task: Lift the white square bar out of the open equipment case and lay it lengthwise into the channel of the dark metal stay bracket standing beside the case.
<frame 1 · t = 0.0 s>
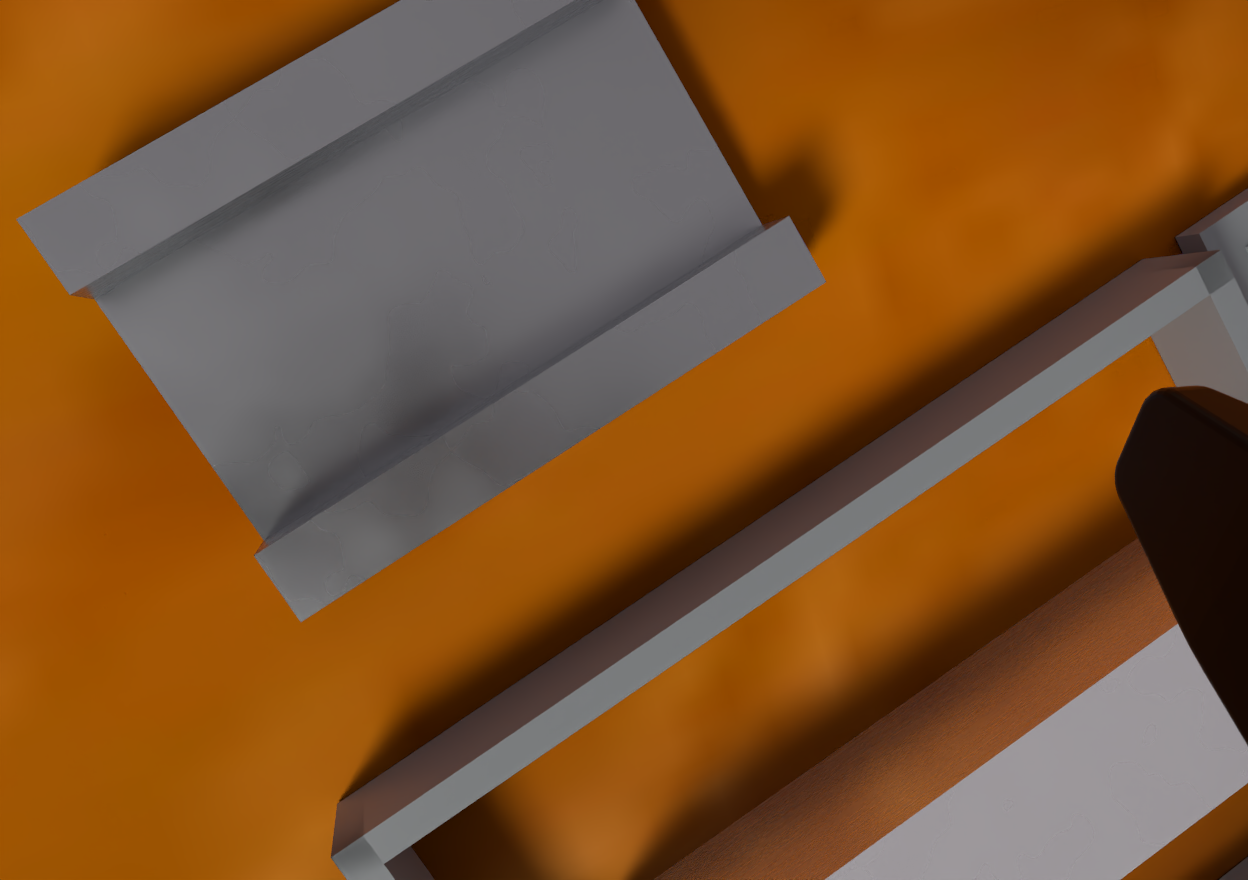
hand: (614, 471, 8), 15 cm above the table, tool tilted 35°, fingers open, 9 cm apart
white square bar: (918, 778, 26), resting in case
stay bracket: (446, 262, 22), on the table
case: (925, 784, 26), on the table
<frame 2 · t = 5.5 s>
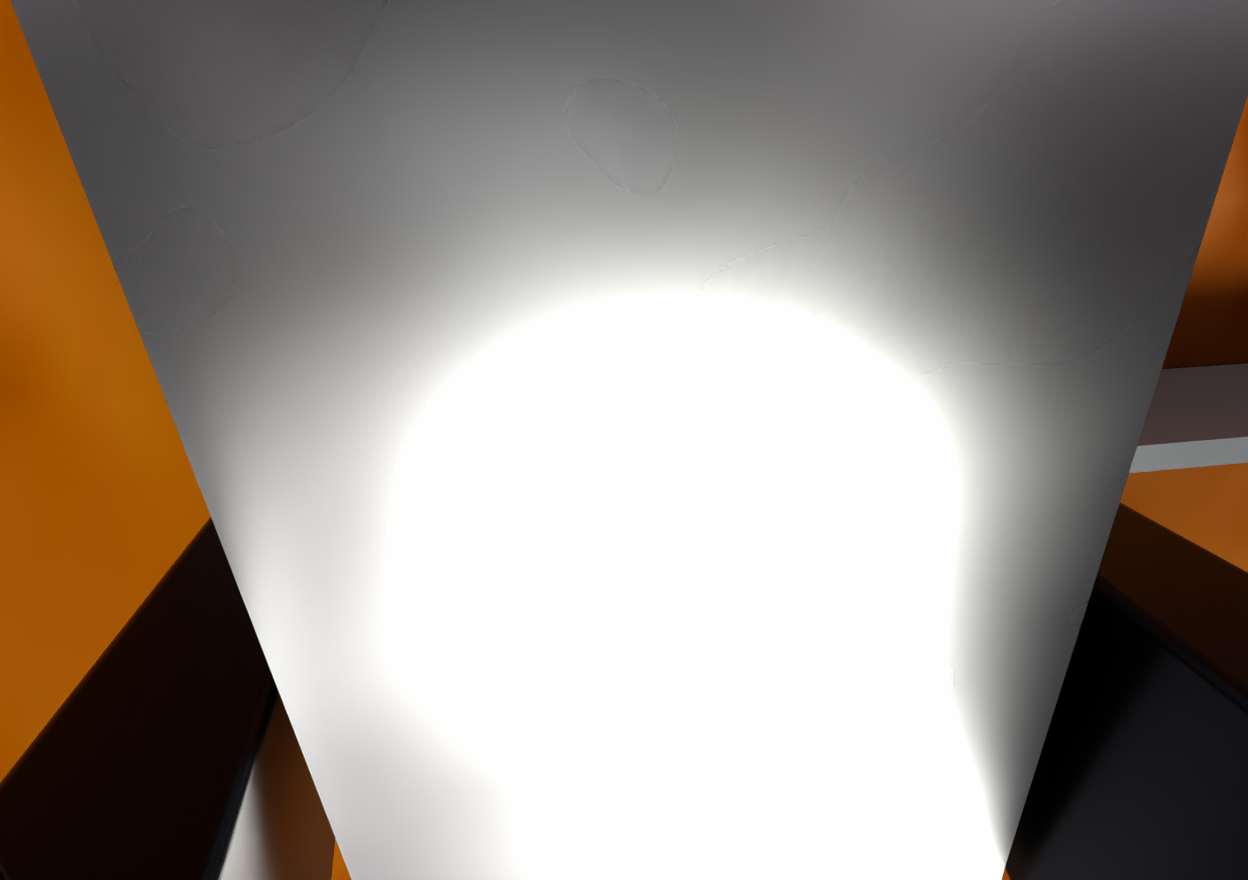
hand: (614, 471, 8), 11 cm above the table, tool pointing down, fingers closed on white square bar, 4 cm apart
white square bar: (586, 382, 9), point 10 cm above the table, touching gripper
when the fingers open (3 cm above the table, at t = 7.5 s): white square bar drops 1 cm, resting on stay bracket.
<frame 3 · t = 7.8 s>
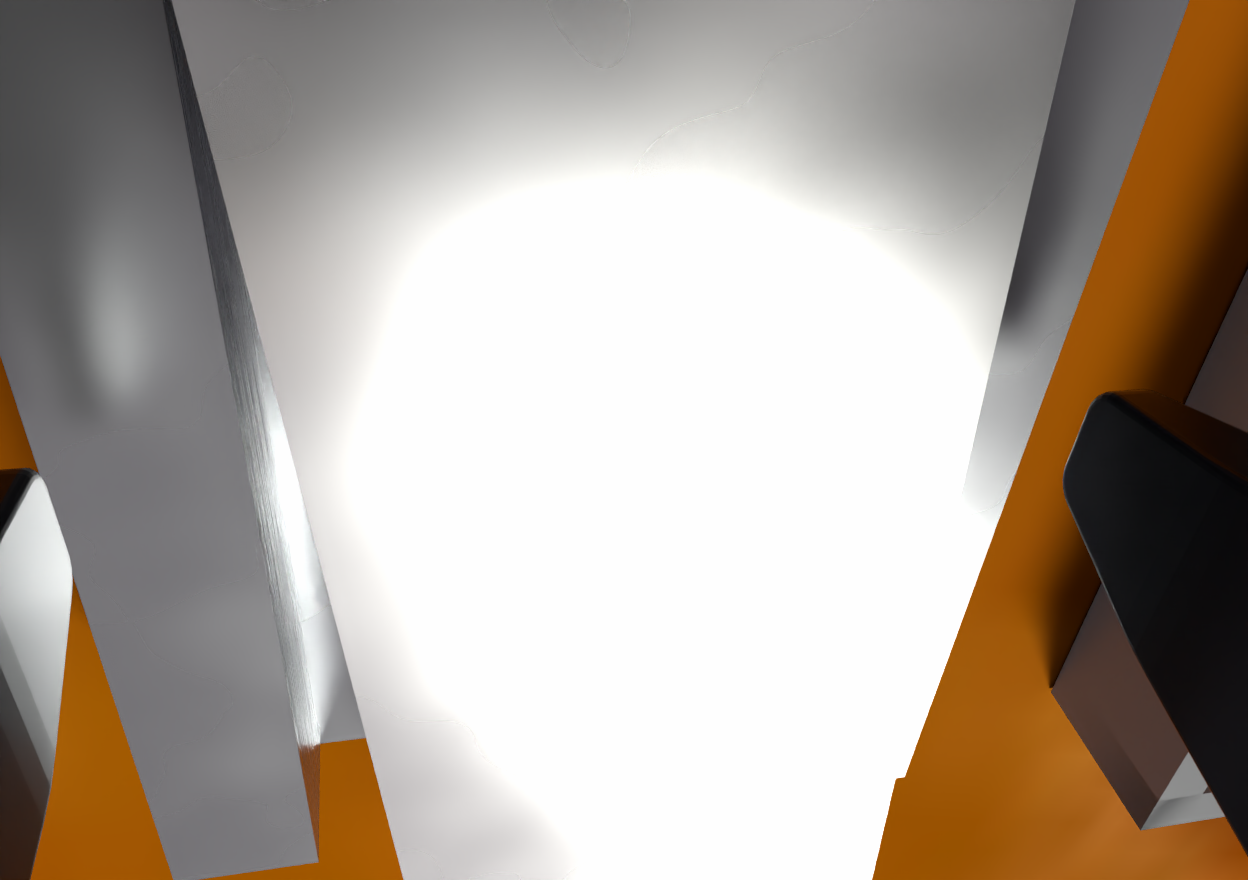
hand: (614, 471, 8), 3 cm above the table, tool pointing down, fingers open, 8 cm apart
white square bar: (560, 303, 10), point 1 cm above the table, touching stay bracket
stay bracket: (546, 263, 11), on the table
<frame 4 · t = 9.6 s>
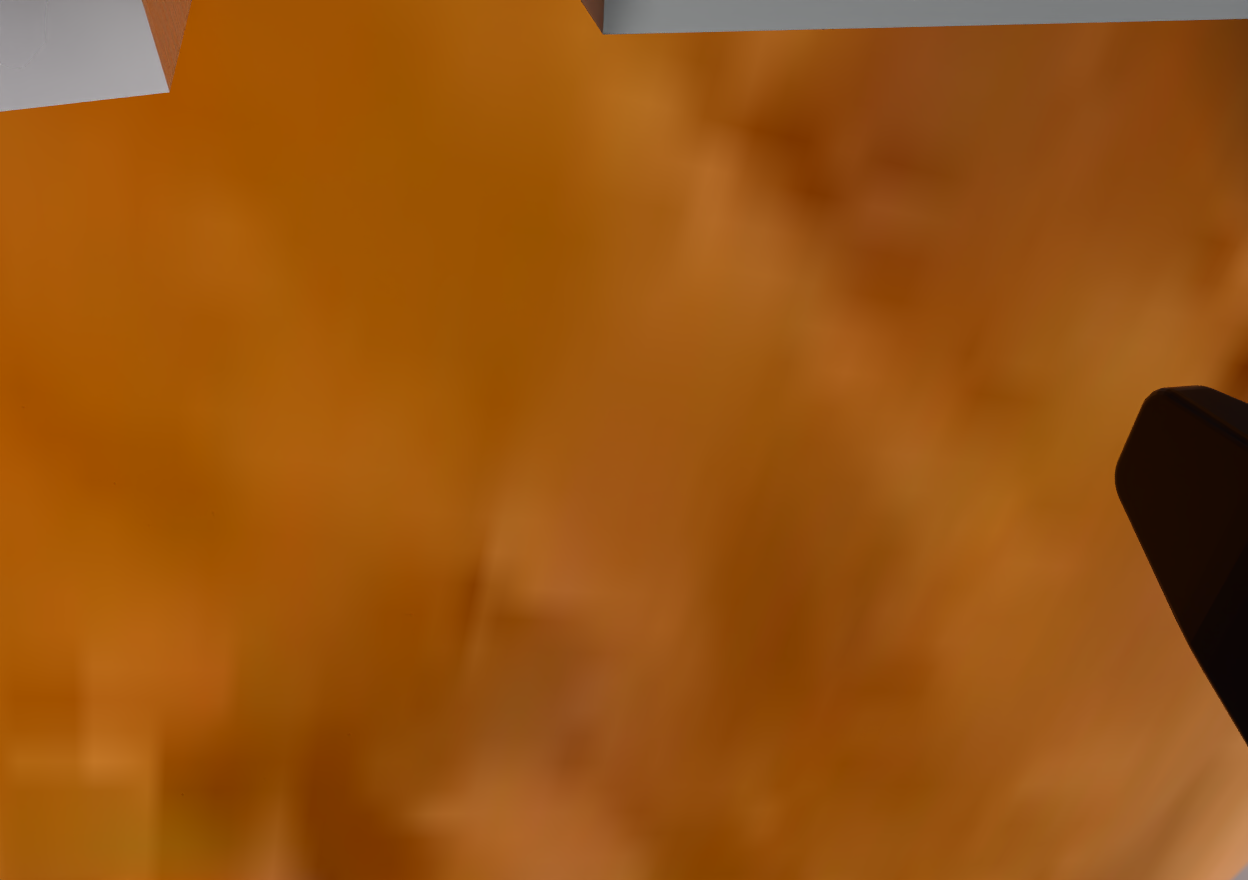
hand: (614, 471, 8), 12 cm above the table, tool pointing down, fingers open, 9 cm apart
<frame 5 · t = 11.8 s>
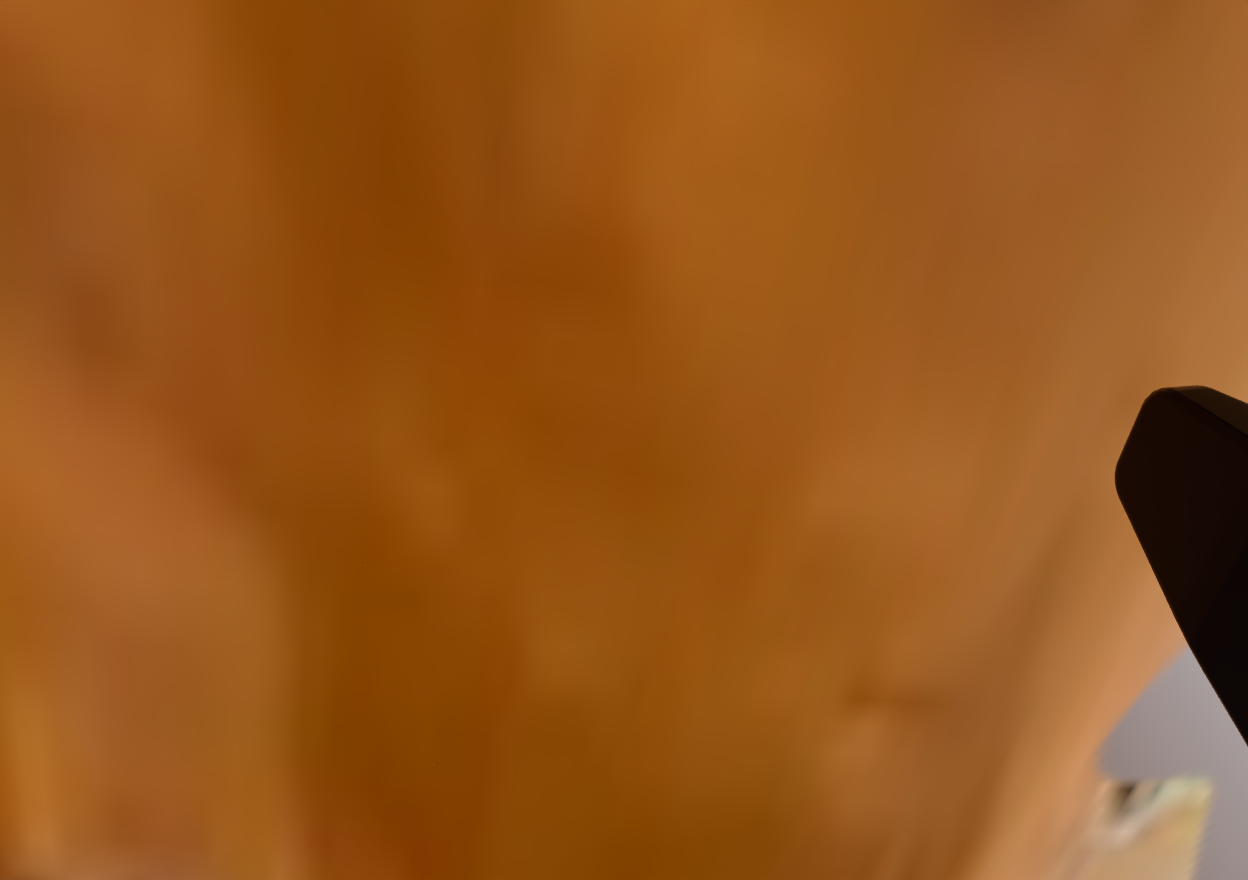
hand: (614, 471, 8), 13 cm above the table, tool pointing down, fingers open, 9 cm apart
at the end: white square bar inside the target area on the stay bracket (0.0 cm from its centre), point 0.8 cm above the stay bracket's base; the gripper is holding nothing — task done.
